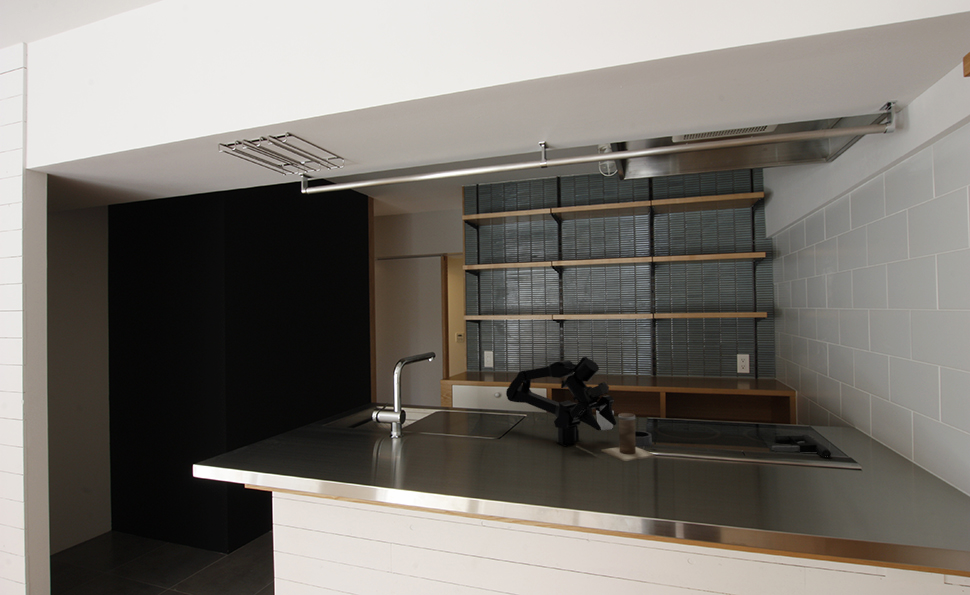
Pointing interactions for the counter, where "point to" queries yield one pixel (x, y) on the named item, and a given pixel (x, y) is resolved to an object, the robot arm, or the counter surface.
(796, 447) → the door handle
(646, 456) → the beige cloth napkin
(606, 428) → the shot glass
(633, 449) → the tapered cup
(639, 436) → the cup
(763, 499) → the counter surface
